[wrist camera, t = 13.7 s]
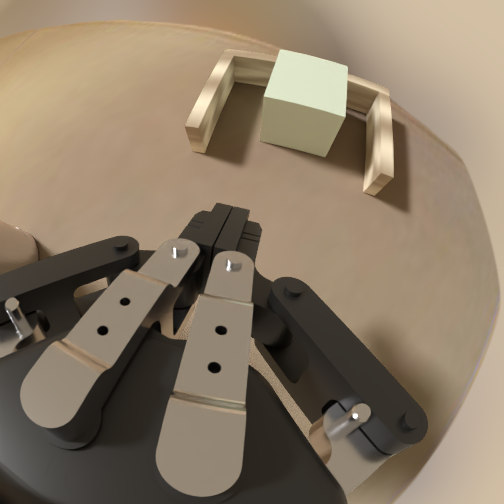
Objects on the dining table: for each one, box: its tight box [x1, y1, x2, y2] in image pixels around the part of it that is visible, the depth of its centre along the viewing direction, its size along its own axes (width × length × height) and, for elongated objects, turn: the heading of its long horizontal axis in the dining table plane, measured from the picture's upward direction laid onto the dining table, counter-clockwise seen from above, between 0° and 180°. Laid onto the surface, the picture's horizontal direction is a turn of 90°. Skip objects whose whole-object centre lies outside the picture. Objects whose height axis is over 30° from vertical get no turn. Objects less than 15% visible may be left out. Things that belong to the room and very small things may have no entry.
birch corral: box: [185, 49, 394, 196], centre depth 29 cm, size 14×22×5 cm, turn 76°
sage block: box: [260, 49, 348, 157], centre depth 27 cm, size 9×8×8 cm
